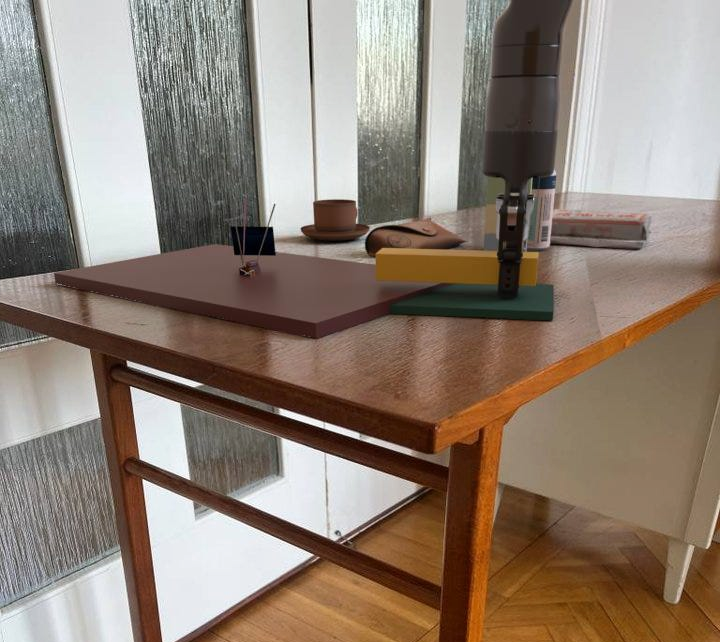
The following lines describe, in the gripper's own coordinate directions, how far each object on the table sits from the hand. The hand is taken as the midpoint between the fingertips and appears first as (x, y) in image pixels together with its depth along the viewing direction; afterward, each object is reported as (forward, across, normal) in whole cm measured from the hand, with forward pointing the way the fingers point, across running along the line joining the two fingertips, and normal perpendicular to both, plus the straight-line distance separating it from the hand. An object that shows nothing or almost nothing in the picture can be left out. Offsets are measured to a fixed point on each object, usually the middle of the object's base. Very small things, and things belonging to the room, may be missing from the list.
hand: (508, 292), depth 86 cm
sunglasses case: (+2, +35, +16) cm, 39 cm away
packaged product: (+1, +47, -11) cm, 48 cm away
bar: (-1, 0, +6) cm, 6 cm away
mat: (+1, 0, +6) cm, 6 cm away
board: (+2, +4, +32) cm, 32 cm away
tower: (+1, +29, +2) cm, 29 cm away
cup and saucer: (+2, +44, +32) cm, 54 cm away
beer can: (+2, +39, -2) cm, 39 cm away
